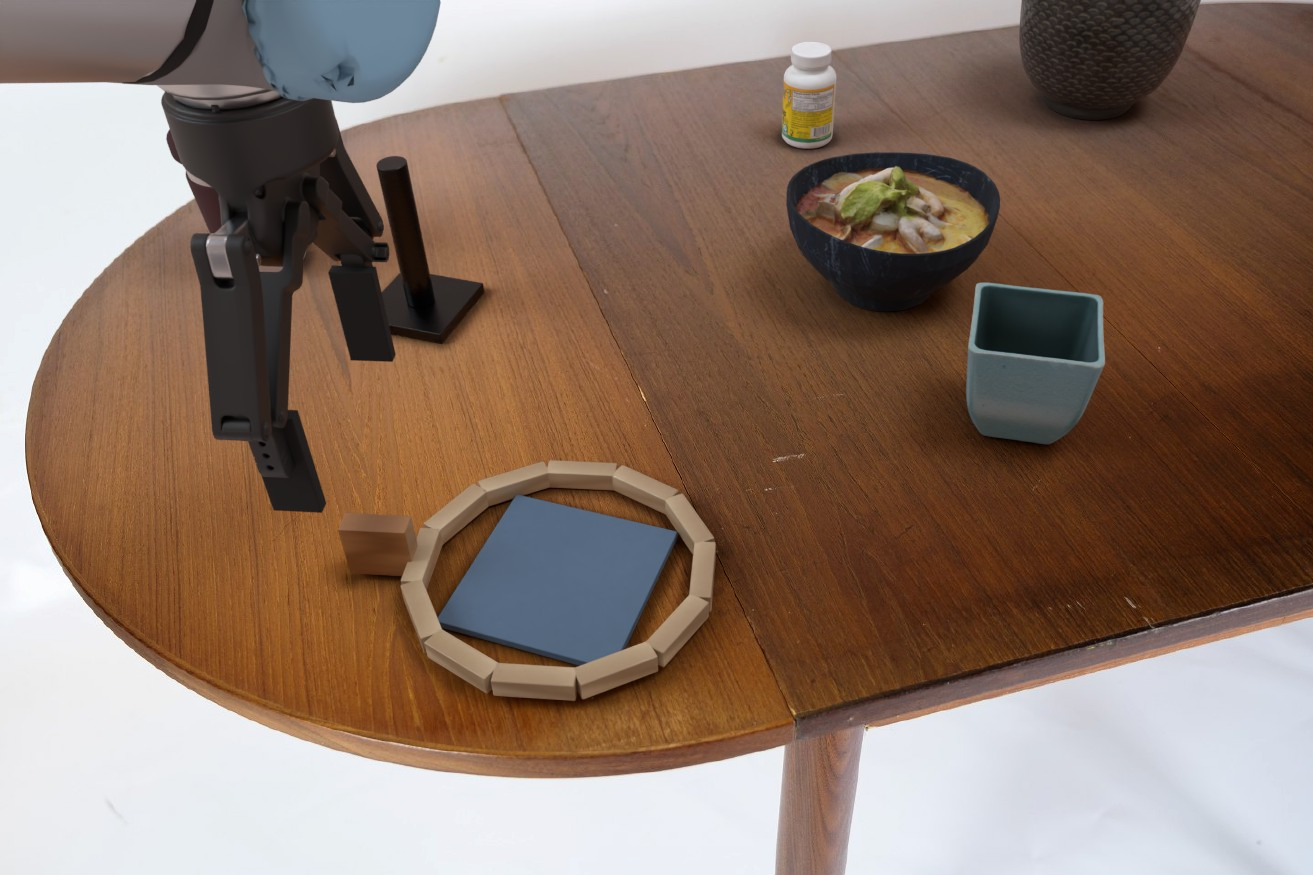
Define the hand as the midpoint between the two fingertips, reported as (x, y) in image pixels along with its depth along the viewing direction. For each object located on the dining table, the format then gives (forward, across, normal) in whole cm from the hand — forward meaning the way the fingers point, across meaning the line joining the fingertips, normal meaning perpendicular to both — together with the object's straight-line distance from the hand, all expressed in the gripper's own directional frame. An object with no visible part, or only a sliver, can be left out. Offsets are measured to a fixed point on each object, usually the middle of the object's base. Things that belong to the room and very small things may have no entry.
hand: (339, 427), depth 66 cm
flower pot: (+13, +18, -43) cm, 49 cm away
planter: (+12, +72, -58) cm, 93 cm away
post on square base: (+12, +31, +5) cm, 33 cm away
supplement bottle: (+12, +64, -28) cm, 70 cm away
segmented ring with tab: (+12, +1, -10) cm, 16 cm away
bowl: (+12, +36, -34) cm, 51 cm away
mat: (+13, 0, -12) cm, 18 cm away
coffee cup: (+13, +38, +22) cm, 46 cm away
